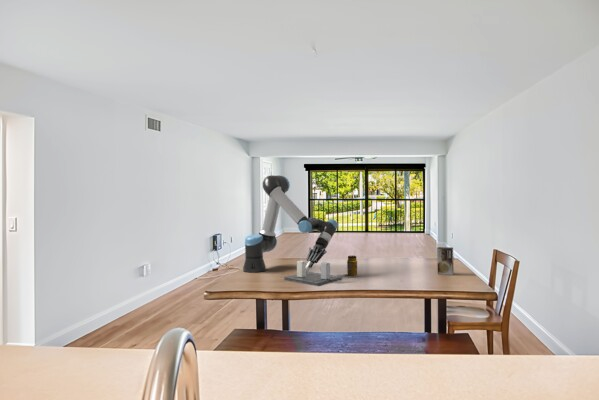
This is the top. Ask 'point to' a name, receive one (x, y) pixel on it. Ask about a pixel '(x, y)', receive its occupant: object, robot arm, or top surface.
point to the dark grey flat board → (312, 279)
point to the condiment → (351, 267)
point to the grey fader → (325, 270)
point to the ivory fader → (301, 268)
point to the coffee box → (445, 260)
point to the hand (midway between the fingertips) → (305, 271)
